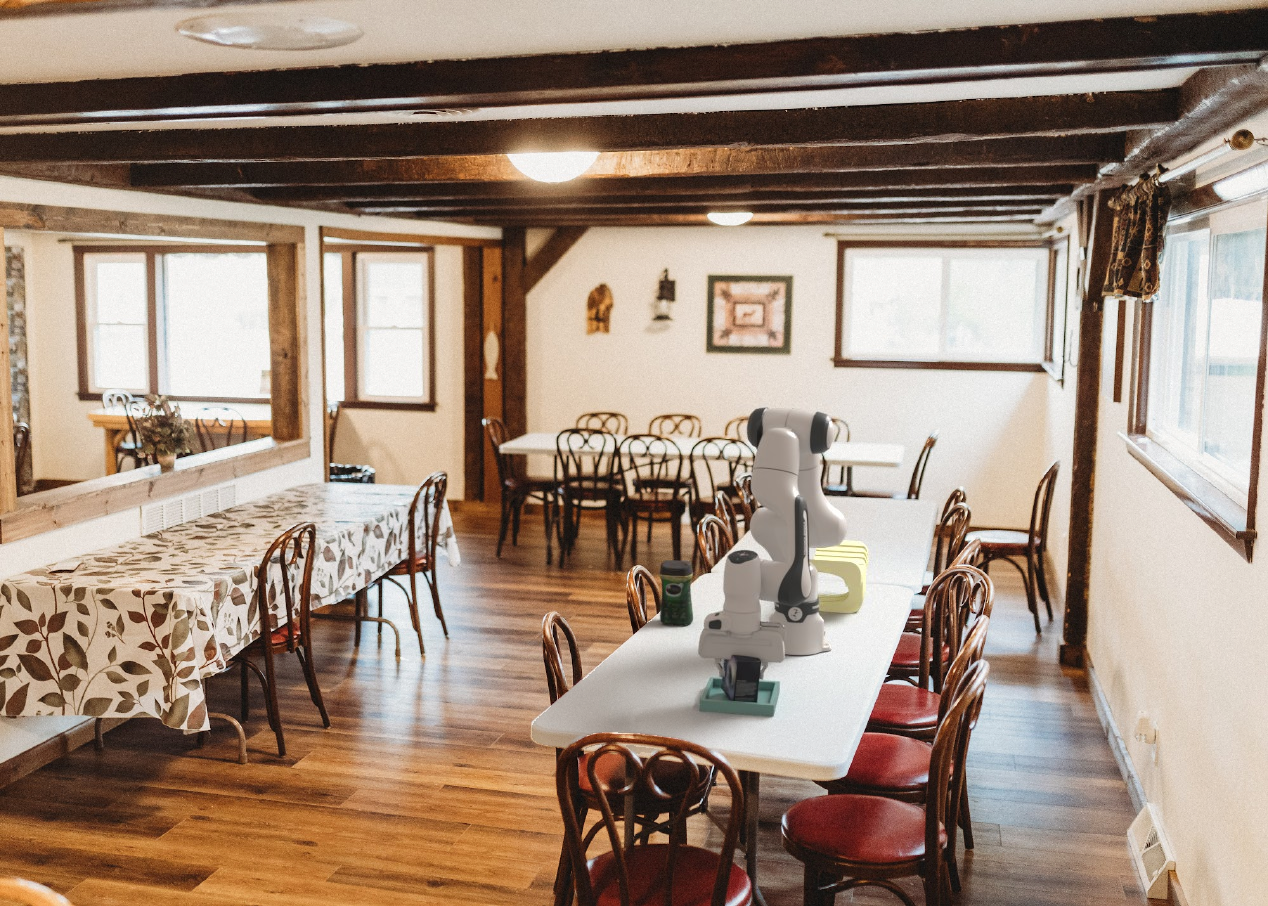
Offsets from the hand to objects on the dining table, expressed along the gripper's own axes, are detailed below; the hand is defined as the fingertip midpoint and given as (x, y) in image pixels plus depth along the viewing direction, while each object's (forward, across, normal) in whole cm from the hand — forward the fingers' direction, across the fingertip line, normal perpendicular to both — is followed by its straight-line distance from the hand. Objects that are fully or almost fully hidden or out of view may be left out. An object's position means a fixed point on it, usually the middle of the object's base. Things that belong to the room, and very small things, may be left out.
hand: (741, 677), depth 275 cm
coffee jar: (+6, +26, -63) cm, 68 cm away
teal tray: (+6, 0, 0) cm, 6 cm away
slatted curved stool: (+6, -20, -91) cm, 93 cm away
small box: (+5, +1, 0) cm, 5 cm away
